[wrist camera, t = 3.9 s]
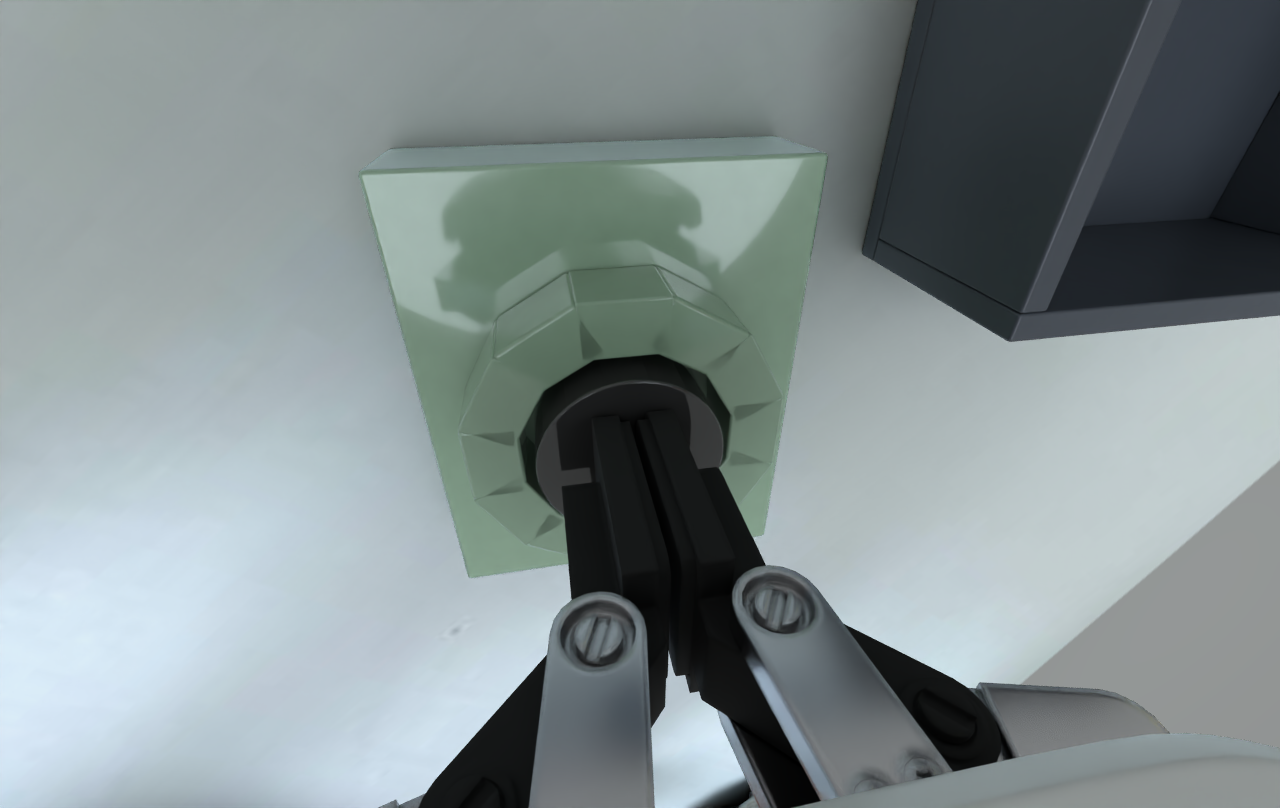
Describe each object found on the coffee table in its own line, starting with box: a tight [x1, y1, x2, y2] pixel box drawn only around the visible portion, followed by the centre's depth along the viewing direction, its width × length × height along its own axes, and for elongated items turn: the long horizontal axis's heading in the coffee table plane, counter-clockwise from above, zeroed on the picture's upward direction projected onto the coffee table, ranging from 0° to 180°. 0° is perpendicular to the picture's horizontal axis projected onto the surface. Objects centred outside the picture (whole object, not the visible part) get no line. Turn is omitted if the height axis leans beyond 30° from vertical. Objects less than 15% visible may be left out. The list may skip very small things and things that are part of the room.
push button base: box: [358, 136, 828, 578], centre depth 14 cm, size 11×9×4 cm
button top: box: [534, 354, 724, 515], centre depth 12 cm, size 4×4×2 cm
